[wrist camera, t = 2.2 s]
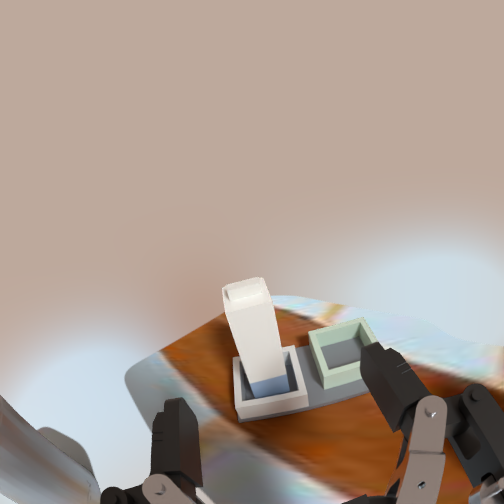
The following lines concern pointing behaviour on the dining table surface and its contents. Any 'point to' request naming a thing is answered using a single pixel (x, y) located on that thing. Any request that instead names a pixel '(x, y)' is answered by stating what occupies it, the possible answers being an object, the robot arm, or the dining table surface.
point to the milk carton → (256, 336)
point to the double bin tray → (311, 373)
